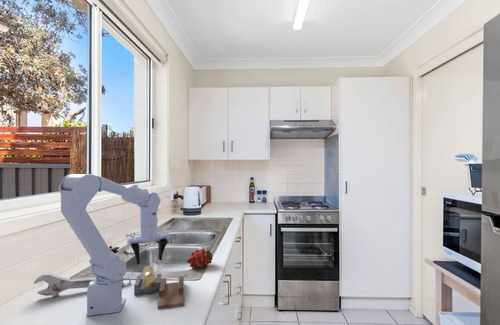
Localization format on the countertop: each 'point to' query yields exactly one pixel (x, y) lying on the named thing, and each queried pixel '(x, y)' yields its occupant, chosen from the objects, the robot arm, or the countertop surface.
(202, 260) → the dragon fruit
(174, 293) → the brown wooden cradle
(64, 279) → the wrench
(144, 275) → the brass axle
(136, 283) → the v block
